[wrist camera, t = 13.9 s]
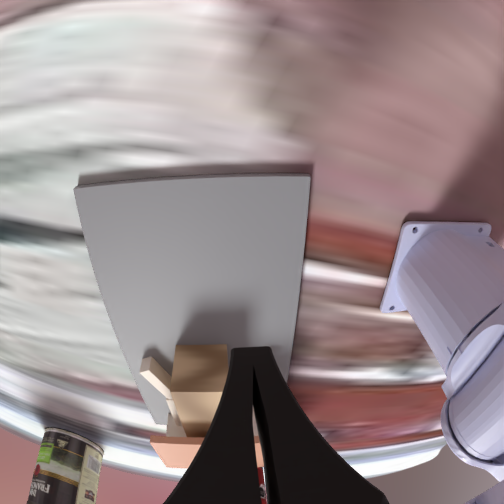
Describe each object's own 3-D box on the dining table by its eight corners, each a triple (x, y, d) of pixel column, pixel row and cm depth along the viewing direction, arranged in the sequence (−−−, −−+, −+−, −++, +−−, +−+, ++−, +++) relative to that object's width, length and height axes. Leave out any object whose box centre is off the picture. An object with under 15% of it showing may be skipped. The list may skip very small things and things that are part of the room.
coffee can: (35, 430, 35) (17, 501, 23) (61, 423, 32) (42, 508, 20) (83, 458, 39) (73, 525, 27) (116, 453, 37) (107, 532, 25)
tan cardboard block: (226, 344, 24) (227, 391, 20) (231, 408, 29) (233, 446, 25) (175, 344, 23) (169, 391, 19) (192, 408, 28) (190, 446, 25)
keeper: (308, 173, 18) (346, 222, 12) (279, 417, 32) (287, 468, 26) (77, 185, 17) (22, 236, 11) (156, 419, 31) (151, 470, 25)
